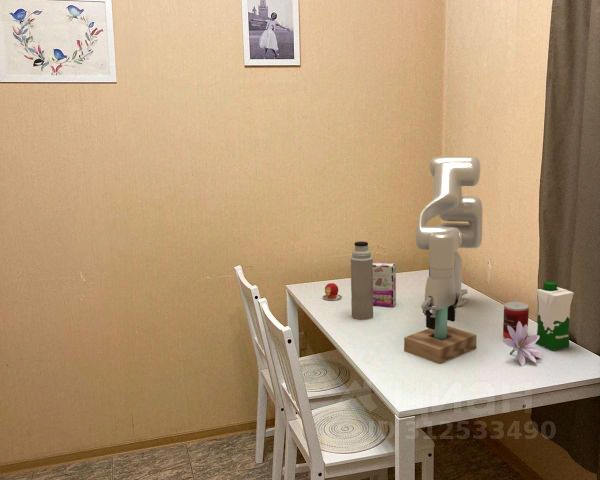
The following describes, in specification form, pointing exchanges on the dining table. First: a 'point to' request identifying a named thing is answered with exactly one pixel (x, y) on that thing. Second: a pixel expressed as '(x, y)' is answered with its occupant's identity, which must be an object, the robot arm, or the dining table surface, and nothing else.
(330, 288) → the apple
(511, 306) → the canned food
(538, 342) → the milk carton
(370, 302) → the thermos bottle
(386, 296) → the candy bar box
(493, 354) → the dining table surface
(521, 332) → the water lily
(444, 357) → the socket block
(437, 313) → the peg
